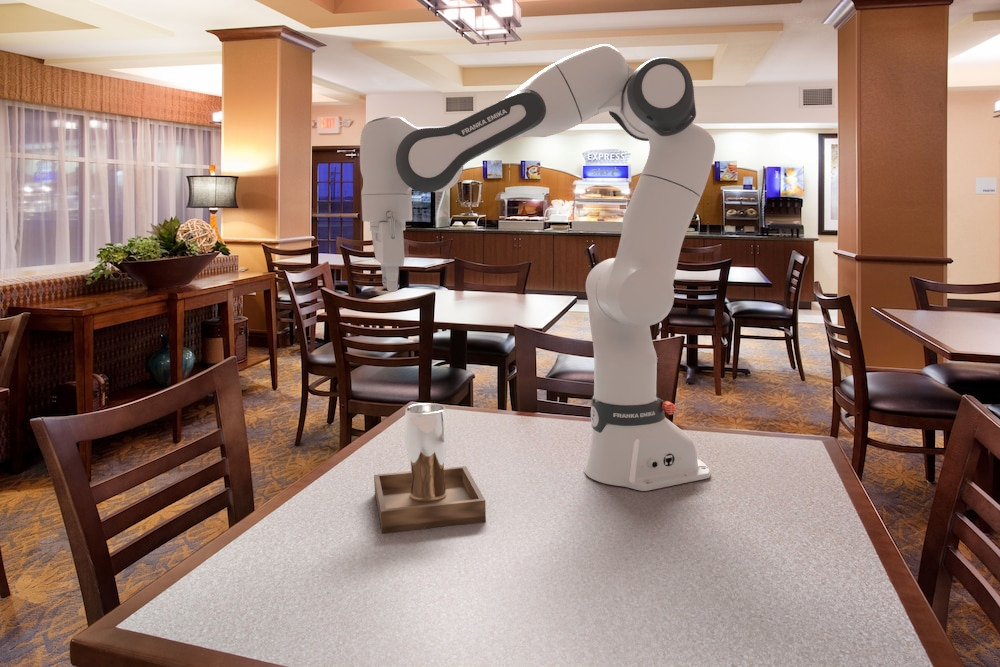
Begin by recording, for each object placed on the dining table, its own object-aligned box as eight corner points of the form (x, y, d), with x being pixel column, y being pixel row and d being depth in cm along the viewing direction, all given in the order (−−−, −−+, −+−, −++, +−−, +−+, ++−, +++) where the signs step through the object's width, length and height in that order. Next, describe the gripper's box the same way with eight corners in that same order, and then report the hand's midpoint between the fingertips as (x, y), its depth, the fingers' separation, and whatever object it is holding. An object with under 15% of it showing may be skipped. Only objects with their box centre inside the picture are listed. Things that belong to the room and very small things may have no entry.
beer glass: (443, 504, 117) (440, 414, 114) (401, 502, 118) (398, 413, 115) (453, 488, 123) (451, 403, 121) (414, 486, 125) (411, 402, 122)
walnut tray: (466, 485, 128) (465, 466, 127) (485, 521, 112) (485, 500, 112) (374, 494, 124) (373, 474, 123) (381, 533, 109) (381, 511, 108)
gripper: (411, 210, 120) (414, 293, 122) (399, 211, 139) (401, 283, 141) (372, 211, 118) (376, 295, 120) (366, 212, 138) (369, 284, 140)
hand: (390, 288), depth 131 cm, fingers open, 8 cm apart
